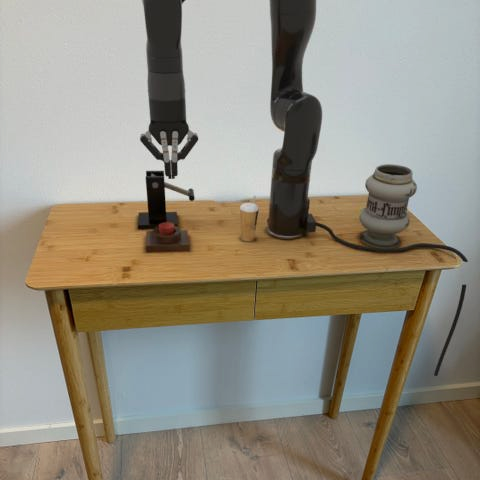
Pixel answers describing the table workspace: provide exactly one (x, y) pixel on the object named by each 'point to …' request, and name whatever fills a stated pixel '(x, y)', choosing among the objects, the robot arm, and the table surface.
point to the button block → (167, 241)
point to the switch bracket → (155, 203)
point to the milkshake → (248, 220)
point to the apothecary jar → (387, 205)
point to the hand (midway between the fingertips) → (171, 177)
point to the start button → (166, 228)
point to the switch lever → (179, 190)
